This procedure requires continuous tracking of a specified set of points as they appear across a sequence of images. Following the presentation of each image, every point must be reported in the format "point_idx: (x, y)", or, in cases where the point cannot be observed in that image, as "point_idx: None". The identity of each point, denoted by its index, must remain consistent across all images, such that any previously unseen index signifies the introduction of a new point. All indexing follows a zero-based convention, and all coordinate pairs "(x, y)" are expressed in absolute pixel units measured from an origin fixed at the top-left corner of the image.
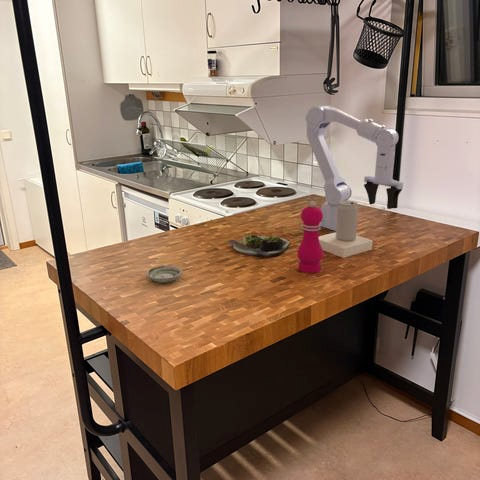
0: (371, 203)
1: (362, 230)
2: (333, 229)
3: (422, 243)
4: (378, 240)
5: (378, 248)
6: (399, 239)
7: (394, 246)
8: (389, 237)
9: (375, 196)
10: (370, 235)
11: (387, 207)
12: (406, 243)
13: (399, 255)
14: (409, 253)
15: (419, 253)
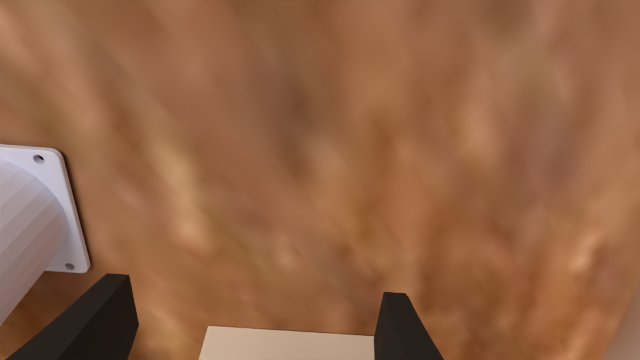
0: (132, 325)
1: (143, 136)
2: (60, 271)
3: (610, 77)
4: (351, 223)
5: (422, 311)
6: (441, 118)
7: (474, 243)
8: (367, 131)
9: (76, 343)
10: (257, 183)
11: (377, 355)
12: (513, 155)
13: (546, 319)
14: (582, 273)
15: (631, 243)
